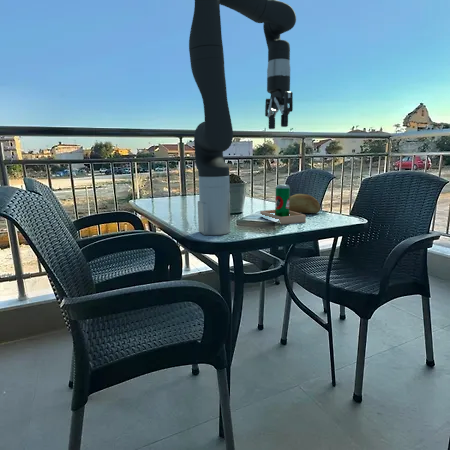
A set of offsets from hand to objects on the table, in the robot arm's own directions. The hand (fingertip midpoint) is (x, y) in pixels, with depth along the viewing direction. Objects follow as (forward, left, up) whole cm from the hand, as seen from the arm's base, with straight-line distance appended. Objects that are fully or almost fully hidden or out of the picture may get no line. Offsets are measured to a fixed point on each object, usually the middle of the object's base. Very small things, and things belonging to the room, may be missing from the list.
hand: (277, 127), depth 109 cm
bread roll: (+16, +9, -32) cm, 37 cm away
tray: (+3, +1, -32) cm, 32 cm away
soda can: (+2, 0, -32) cm, 32 cm away
